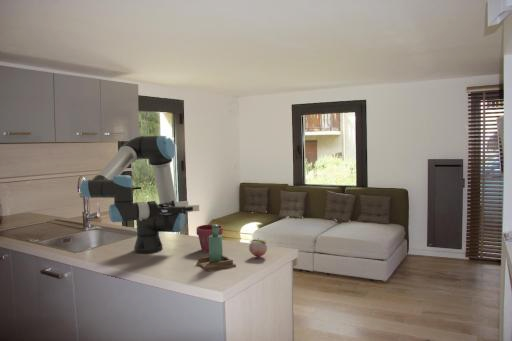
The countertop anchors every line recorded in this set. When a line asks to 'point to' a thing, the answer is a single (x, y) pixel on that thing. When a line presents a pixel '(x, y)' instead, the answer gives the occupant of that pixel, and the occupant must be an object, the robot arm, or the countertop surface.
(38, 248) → the countertop surface
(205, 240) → the plant pot
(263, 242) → the decorative fruit
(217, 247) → the green bottle
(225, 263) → the u rest
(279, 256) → the countertop surface
